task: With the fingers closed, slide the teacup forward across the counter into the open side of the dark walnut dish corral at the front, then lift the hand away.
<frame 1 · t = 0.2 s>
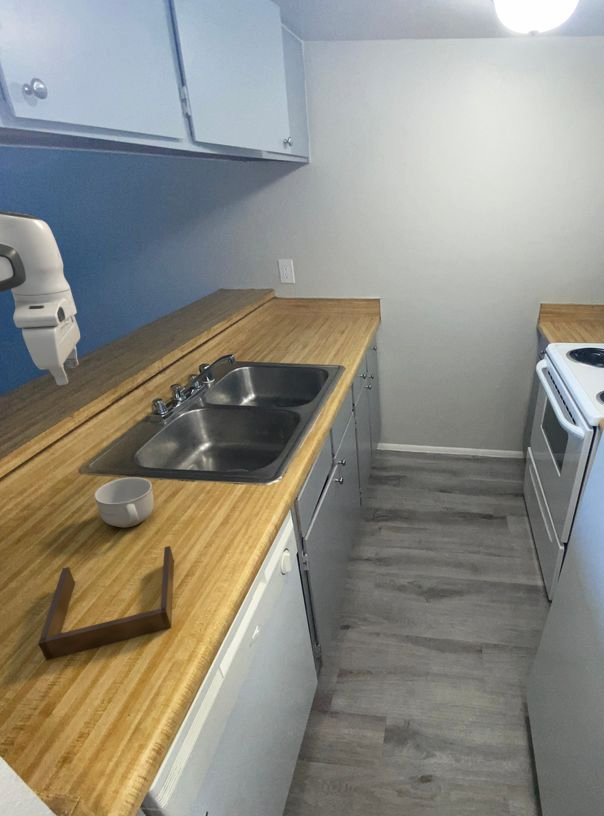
hand: (68, 375, 95), 32 cm above the worktop, tool pointing down, fingers open, 8 cm apart
dish corral: (118, 602, 85), on the worktop
teacup: (132, 522, 105), on the worktop
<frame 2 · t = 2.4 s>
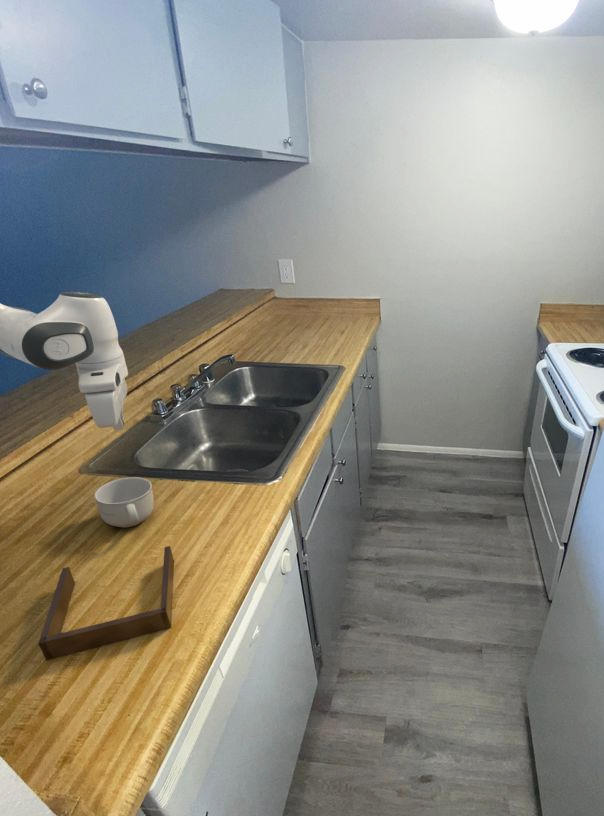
hand: (119, 427, 106), 18 cm above the worktop, tool pointing down, fingers closed
nothing on the worktop moved.
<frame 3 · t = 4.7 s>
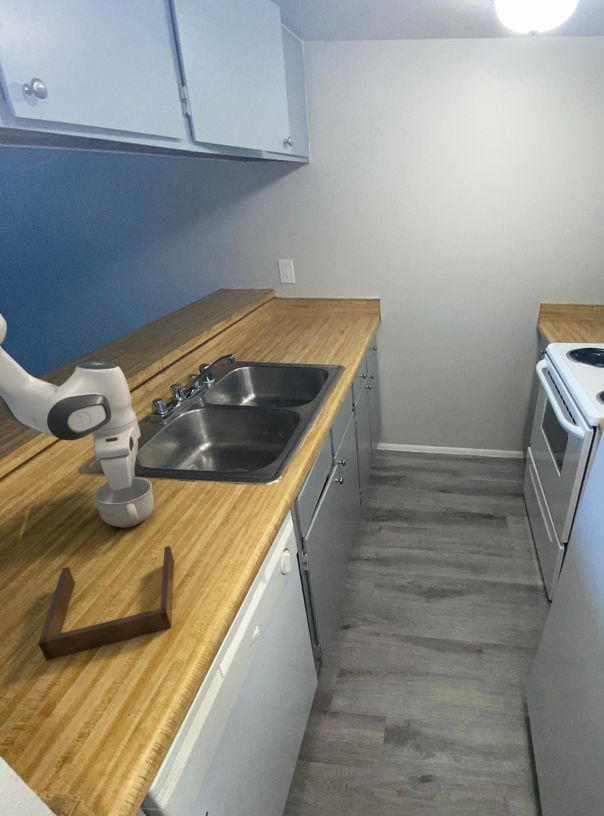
hand: (131, 483, 110), 4 cm above the worktop, tool pointing down, fingers closed
teacup: (132, 523, 105), on the worktop, touching gripper
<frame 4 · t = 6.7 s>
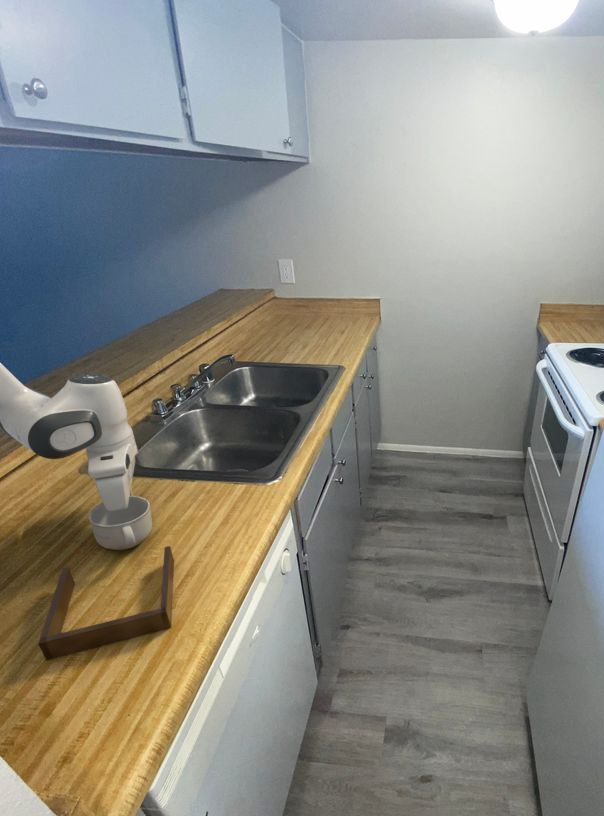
hand: (128, 502, 104), 4 cm above the worktop, tool pointing down, fingers closed
teacup: (128, 544, 98), on the worktop, touching gripper
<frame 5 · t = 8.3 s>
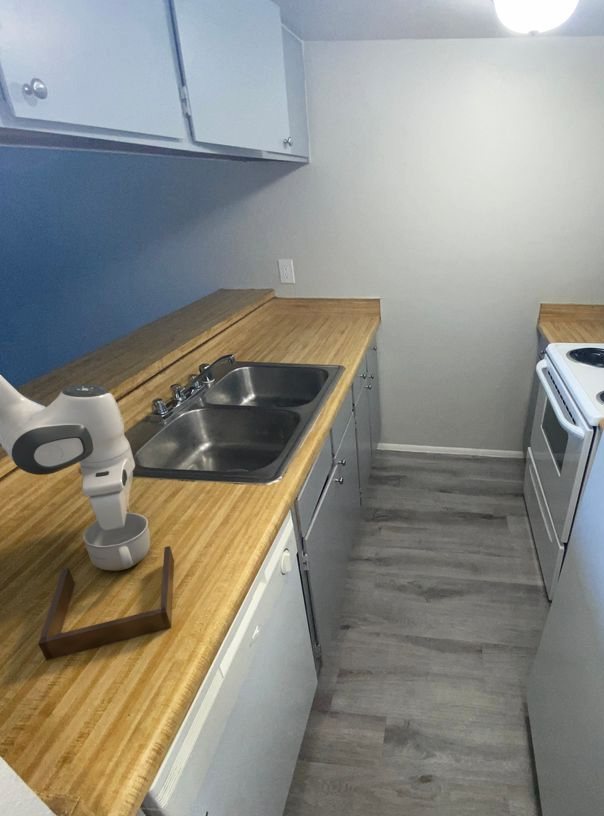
hand: (125, 519, 99), 4 cm above the worktop, tool pointing down, fingers closed
teacup: (125, 564, 93), on the worktop, touching gripper
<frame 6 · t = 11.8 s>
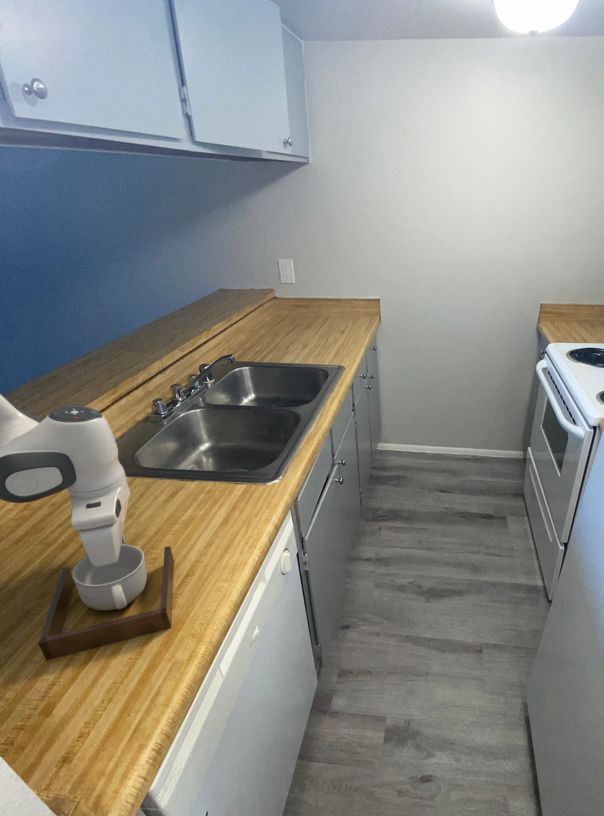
hand: (120, 550, 91), 4 cm above the worktop, tool pointing down, fingers closed
teacup: (119, 602, 85), on the worktop, touching gripper
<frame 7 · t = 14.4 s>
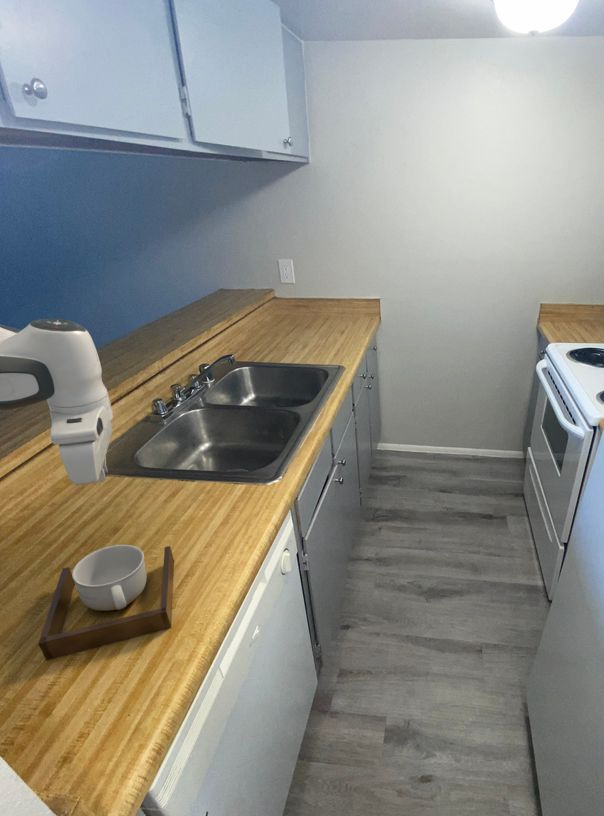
hand: (101, 477, 89), 18 cm above the worktop, tool pointing down, fingers closed
teacup: (119, 602, 85), on the worktop
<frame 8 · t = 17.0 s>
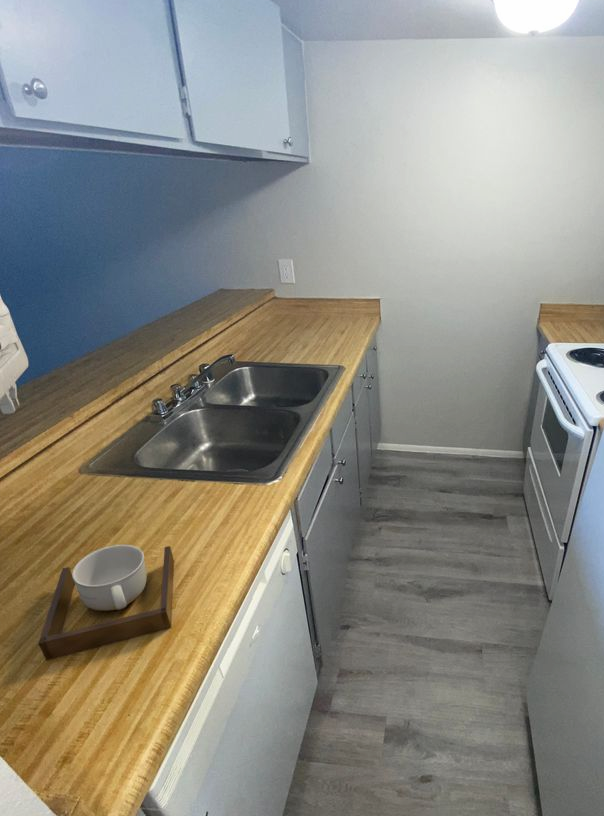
hand: (11, 410, 83), 31 cm above the worktop, tool pointing down, fingers closed
nothing on the worktop moved.
at the end: teacup inside the target area on the dish corral (1.1 cm from its centre), point 0.0 cm above the dish corral's base; teacup tilted 0° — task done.
